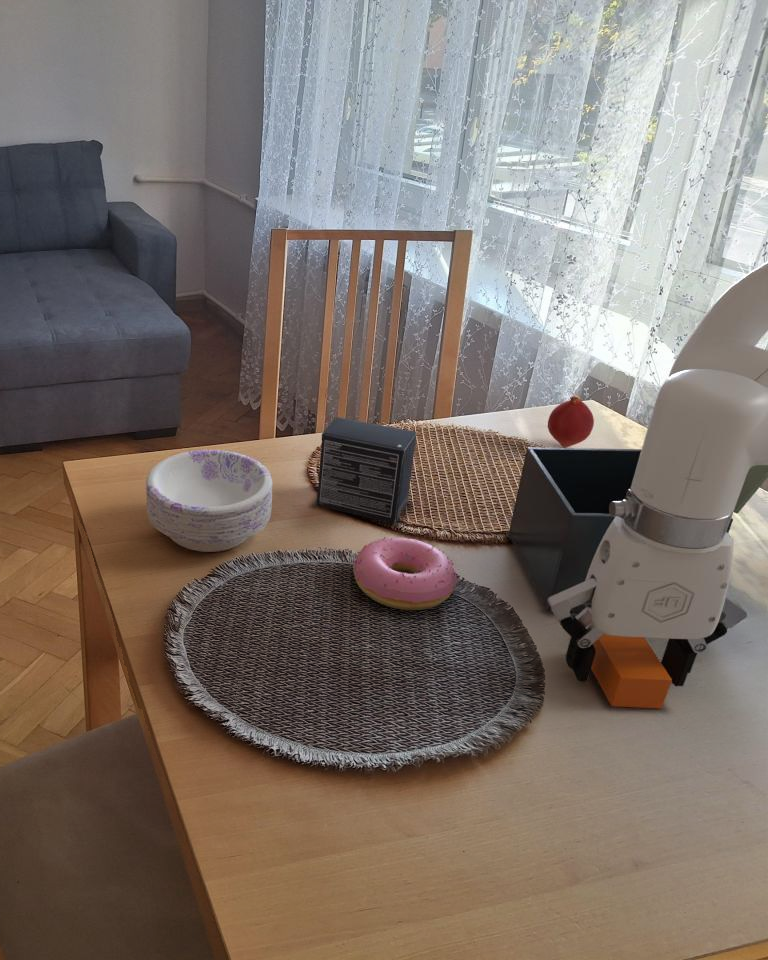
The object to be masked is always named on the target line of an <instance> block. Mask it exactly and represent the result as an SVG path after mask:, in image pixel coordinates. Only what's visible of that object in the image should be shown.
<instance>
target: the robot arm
mask: <svg viewBox="0 0 768 960" xmlns="http://www.w3.org/2000/svg"><path fill="white" fill-rule="evenodd" d="M766 333H768V260H767V261H765V262H764V263H763V264H761V265H760V266H758V267H757V268H754V269H753V270H752V271H749V273H747V274H745V275H744V276H742V277H741V278H740V279H739V280H737V281H736V282H735V283H733V284H732V285H731V286H730V287H728V288H727V290H725V291H724V292H723V293H722V294H721V295H720V296H719V298H717V300H716V301H715V302H714V304H713V305H712V306H710V309H709V310H708V311H707V312H706V314H705V315H704V316H703V318H702V319H701V321H700V322H699V323H698V325H697V327H696V328H695V329H694V331H693V332H692V334H691V335H690V336H689V338H688V339H687V341H686V342H685V343H684V345H683V346H682V348H681V350H680V352H679V353H678V355H677V357H676V358H675V360H674V362H673V364H672V367H671V368H670V371H669V375H668V377H667V378H666V379H665V380H664V381H663V382H662V384H661V386H660V387H659V390H658V393H657V395H656V398H655V402H654V405H653V408H652V412H651V415H650V419H649V422H648V426H647V429H646V433H645V436H644V439H643V443H642V447H641V449H642V450H641V453H640V457H639V460H638V464H637V467H636V471H635V474H634V478H633V481H632V485H631V487H630V489H628V490H627V494H626V497H625V499H624V500H620V501H612V502H611V503H610V505H609V513H610V515H611V516H612V517H615V518H614V520H613V521H612V523H611V524H610V526H609V528H608V529H607V531H606V533H605V535H604V536H603V538H602V540H601V542H600V544H599V546H598V549H597V551H596V553H595V555H594V558H593V560H592V563H591V565H590V568H589V571H588V574H587V577H586V580H585V581H584V582H582V583H580V584H578V585H575V586H573V587H571V588H569V589H566V590H564V591H562V592H560V593H558V594H555V595H553V596H551V597H549V598H548V599H547V603H548V605H549V607H550V608H551V610H552V612H551V613H552V614H553V615H554V617H555V619H556V620H557V621H558V623H559V624H560V626H561V628H562V630H564V631H565V633H567V635H569V636H570V639H569V643H568V646H567V649H566V653H565V663H566V665H567V667H568V668H569V669H571V670H572V672H573V674H574V676H575V678H576V680H577V681H578V682H579V683H586V682H587V681H588V680H589V677H590V673H591V671H592V669H591V667H592V664H593V660H594V657H595V654H596V649H595V647H594V646H593V643H594V642H596V641H597V640H598V639H599V638H600V637H602V636H603V635H604V634H606V635H611V636H621V637H641V638H645V639H666V640H667V639H668V641H667V644H666V646H665V649H664V653H663V655H662V657H661V658H662V659H661V660H660V662H661V664H662V665H663V667H664V668H665V670H666V671H667V673H668V674H669V676H670V677H671V679H672V682H671V684H672V685H673V686H675V687H684V685H685V682H686V680H687V678H688V674H690V673H691V671H692V669H693V666H694V663H695V662H696V658H697V656H698V654H702V653H705V652H706V650H707V649H708V645H709V644H710V643H713V642H714V641H717V640H718V639H720V638H722V637H724V636H725V635H726V634H728V629H732V628H733V627H735V626H736V625H737V624H739V623H740V622H742V621H743V620H745V619H746V618H747V617H748V612H747V611H746V610H745V609H744V607H743V606H742V605H741V604H740V603H739V602H738V601H737V600H735V599H734V598H732V597H731V596H729V595H728V590H729V585H730V581H731V575H732V570H733V569H732V568H733V560H734V559H733V558H734V538H733V537H732V536H731V534H729V533H727V532H726V531H727V528H728V526H729V523H730V520H731V518H733V515H734V509H735V506H736V503H737V500H738V497H739V495H740V492H741V489H742V486H743V484H744V481H745V478H746V475H747V473H748V470H749V469H750V468H751V467H752V466H755V465H768V350H767V349H765V348H760V347H758V346H757V345H758V344H759V342H760V341H761V339H762V338H763V337H764V336H765V335H766ZM581 604H583V605H584V606H586V608H585V609H584V610H582V611H581V612H580V613H578V614H576V616H575V615H574V614H573V613H572V612H570V610H571V609H572V608H574V607H576V606H579V605H581ZM591 623H592V624H591ZM590 624H591V625H590ZM589 625H590V626H589ZM588 626H589V627H588Z"/></svg>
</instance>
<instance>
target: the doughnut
mask: <svg viewBox="0 0 768 960" xmlns="http://www.w3.org/2000/svg"><path fill="white" fill-rule="evenodd" d="M357 552H358V553H357V554H356V556H355V557H354V561H353V565H352V571H353V574H354V579H355V582H356V584H357V585H358V587H359V589H360V590H361V591H362V592H363V593H364V594H365V595H366V596H367V597H369V598H370V599H371V600H373V601H375V602H376V603H378V604H381V605H382V606H386V607H389V608H392V609H397V610H403V611H422V610H428V609H431V608H434V607H437V606H439V605H441V604H442V603H444V602H445V601H446V600H448V599H449V597H450V596H451V595H452V593H453V591H454V590H456V585H457V578H458V576H457V574H456V573H457V572H456V570H455V564H454V563H453V560H451V558H450V557H449V555H446V554H445V553H444V551H441V549H438V548H437V547H435V545H433V544H430V543H428V542H425V541H421V540H418V539H415V538H410V537H408V538H407V537H385V536H384V537H383V538H381V539H377V540H375V541H372V542H370V543H368V544H365V545H363V547H362V549H361V550H360V551H357Z"/></svg>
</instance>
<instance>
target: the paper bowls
mask: <svg viewBox="0 0 768 960" xmlns="http://www.w3.org/2000/svg"><path fill="white" fill-rule="evenodd" d="M272 479H273V478H272V474H271V473H270V471H269V470H268V469H267V467H266V466H265V465H264V464H263V463H261V462H260V461H258V460H256V459H254V458H253V457H250V456H248V455H246V454H242V453H239V452H234V451H230V450H229V451H228V450H221V449H195V450H190V451H185V452H180V453H177V454H174V455H171V456H169V457H166V458H164V459H162V460H160V461H159V462H158V463H156V464H154V466H153V467H151V469H150V470H149V471H148V474H147V476H146V479H145V491H146V514H147V517H148V520H149V522H150V523H151V525H152V526H153V527H154V528H155V529H156V530H157V531H159V532H160V533H161V534H163V535H165V536H166V537H169V538H170V539H171V540H172V541H173V542H174V543H176V544H177V545H179V546H180V547H183V548H184V549H187V550H192V551H195V552H196V551H197V552H203V553H211V552H212V553H215V552H216V553H217V552H223V551H226V550H230V549H233V548H235V547H237V546H239V545H241V544H243V543H244V542H245V541H246V540H247V539H248V538H251V537H252V536H254V535H256V534H258V533H259V532H261V531H262V530H263V529H265V527H266V526H267V524H268V523H269V521H270V519H271V514H272V503H273V502H272V501H273V480H272Z"/></svg>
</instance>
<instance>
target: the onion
mask: <svg viewBox="0 0 768 960" xmlns="http://www.w3.org/2000/svg"><path fill="white" fill-rule="evenodd" d="M594 425H595V419H594V415H593V412H592V411H591V409H590V408H589V406H588V405H587V404H586V403H585V402H583V400H582V399H581V397H580V396H578V395H573V396H571V397H570V400H567V401H566V400H565V401H563V402H561V403H559V404H558V405H557V406H556V407H554V409H553V410H552V411H551V413H550V414H549V417H548V420H547V429H548V432H549V434H550V435H551V437H552V438H553V439H554V440H555V441H556V442H557V443H558V444H559V445H560V447H561V448H571V447H572V446H575V445H579V444H581V443H582V442H583V441H585V440H587V438H589V436H590V435H591V434H592V431H593V428H594Z"/></svg>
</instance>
